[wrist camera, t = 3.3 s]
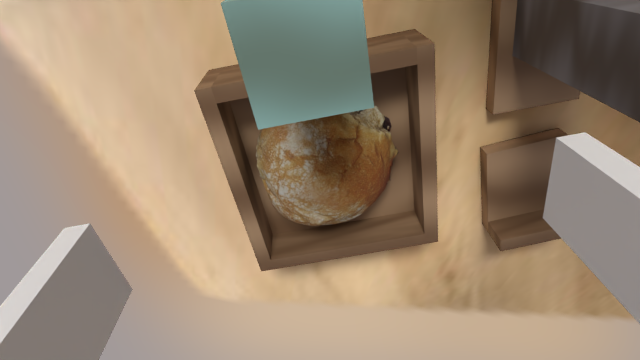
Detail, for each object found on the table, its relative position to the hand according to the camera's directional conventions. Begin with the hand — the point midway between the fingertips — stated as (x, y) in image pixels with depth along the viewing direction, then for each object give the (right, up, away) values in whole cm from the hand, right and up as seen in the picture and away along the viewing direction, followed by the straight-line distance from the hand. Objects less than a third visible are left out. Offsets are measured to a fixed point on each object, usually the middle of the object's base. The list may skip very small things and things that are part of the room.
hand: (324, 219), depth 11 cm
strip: (+16, +1, +21) cm, 26 cm away
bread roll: (0, +4, +18) cm, 19 cm away
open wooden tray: (0, +6, +17) cm, 18 cm away
